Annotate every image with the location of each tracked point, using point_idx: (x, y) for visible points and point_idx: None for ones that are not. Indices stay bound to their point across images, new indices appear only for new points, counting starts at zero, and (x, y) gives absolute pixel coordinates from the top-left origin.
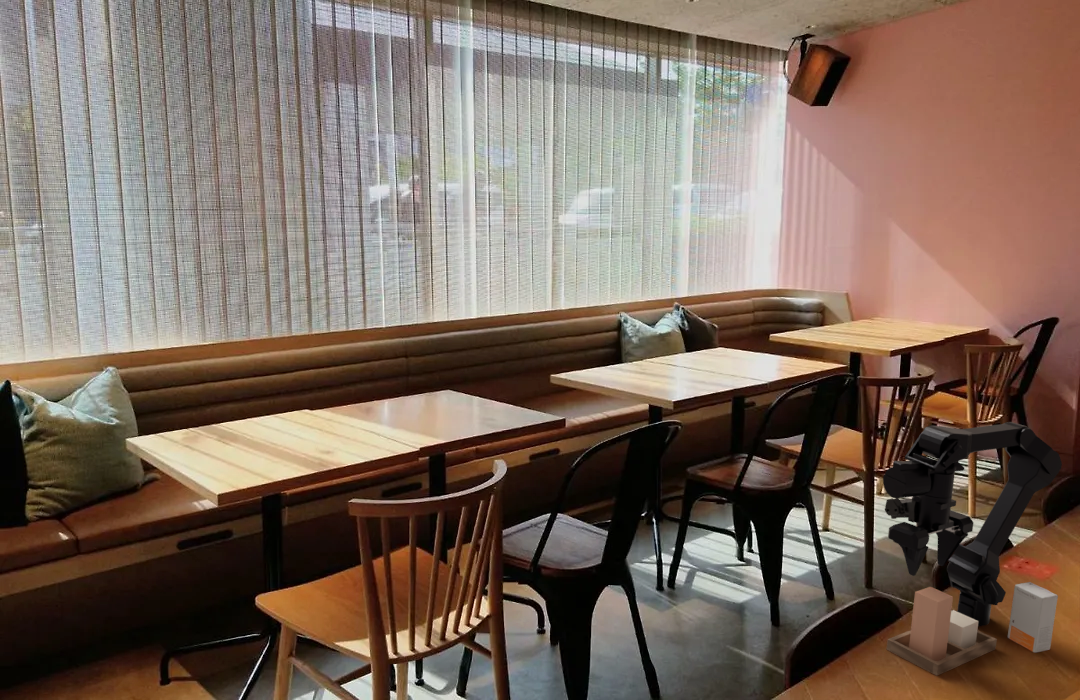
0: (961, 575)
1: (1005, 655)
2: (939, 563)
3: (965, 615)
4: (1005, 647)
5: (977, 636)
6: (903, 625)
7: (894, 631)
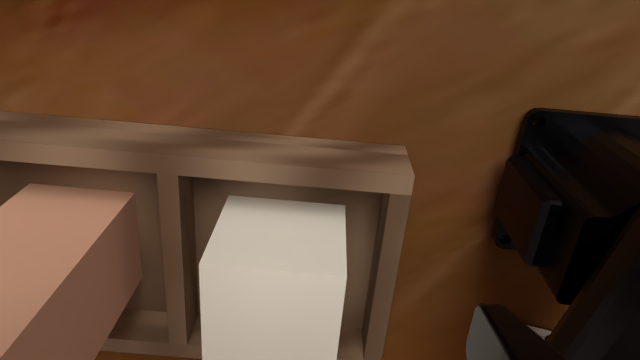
0: (598, 351)
1: (395, 347)
2: (477, 328)
3: (339, 331)
4: (457, 328)
5: (368, 307)
6: (280, 3)
7: (181, 12)
